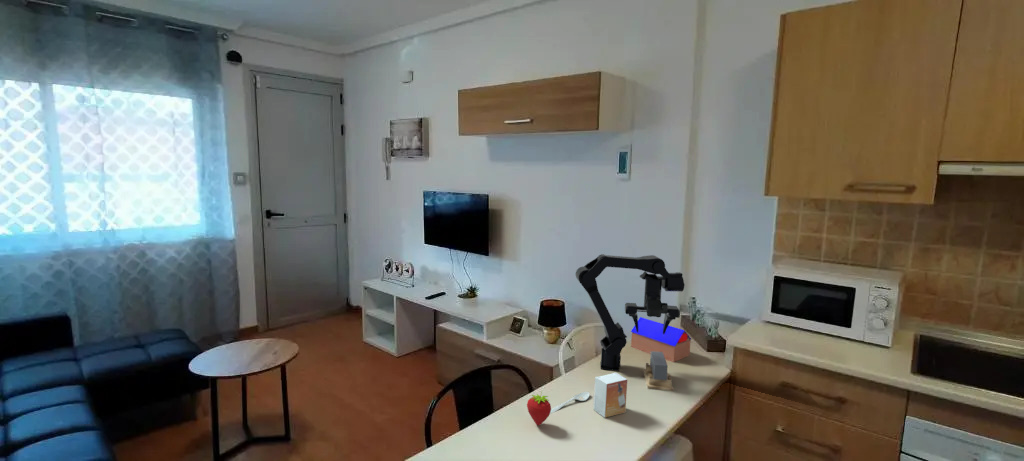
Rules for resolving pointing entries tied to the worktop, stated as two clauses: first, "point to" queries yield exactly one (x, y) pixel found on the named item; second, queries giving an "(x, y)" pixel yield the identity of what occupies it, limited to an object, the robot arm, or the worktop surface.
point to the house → (661, 340)
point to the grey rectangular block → (658, 365)
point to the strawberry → (539, 408)
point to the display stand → (656, 380)
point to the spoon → (583, 395)
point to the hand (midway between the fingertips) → (650, 332)
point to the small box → (610, 394)
